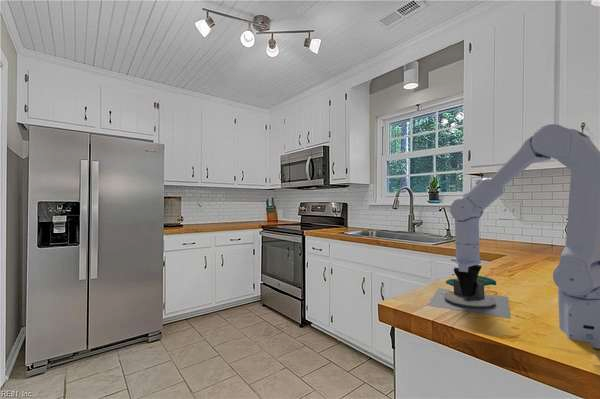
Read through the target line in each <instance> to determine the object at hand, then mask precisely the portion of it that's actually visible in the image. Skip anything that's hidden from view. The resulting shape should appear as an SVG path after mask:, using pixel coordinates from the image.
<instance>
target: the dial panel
mask: <svg viewBox="0 0 600 399" xmlns="http://www.w3.org/2000/svg"><path fill="white" fill-rule="evenodd" d="M449 290H450V289H447V288H439V287H438V288H437V289H436V291H435V292H434V294H433V296H432V297H431V299H430V300H429V301H428V303H427V306H428V307H434V308H435V307H436V308H441V309H446V310H447V309H448V310H453V311H454V310H455V311H460V312H467V313H473V314H479V315H485V316H492V317H498V318H503V319H510V320H511V319H512V318H511V310H510V301H509V296H503V295H497V294H495V295H494V294H487V293H486V294H487V295H490V296H492V297H493V298H494V299H495V305H494V306H492V307H488V308H472V307H465V306H460V305H456V304H453V303H450V302H448V301H447V300H445V298H444V293H445V292H447V291H449Z"/></svg>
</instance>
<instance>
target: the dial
mask: <svg viewBox="0 0 600 399" xmlns="http://www.w3.org/2000/svg"><path fill="white" fill-rule="evenodd" d="M453 279H454V286H453V289H449V291H447V292H445V293H444V298H445V300H447V301H448V302H450V303H453V304H456V305H460V306H465V307H472V308H488V307H492V306H494V305H495V299H494V298H493V297H492V296H490V295H491V294H489V295H487V293H485V285H484V284H482V283H478V282H474V287H473V293H472V296H471V297H470V296H463V295H462V292H461V288H460V284H459V280H458V278H453Z"/></svg>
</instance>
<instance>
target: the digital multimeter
mask: <svg viewBox="0 0 600 399" xmlns="http://www.w3.org/2000/svg"><path fill="white" fill-rule="evenodd" d="M454 279H455V278H451V279H450V278H449V279H447V280H445V283H446V284H448V285H451V286H452V287H454ZM476 282H478V283H482V284H484V286H488V285H491V286H497V281H496V280H495V279H493V278H490V277H485V276H481V275H478V277H477V281H476Z"/></svg>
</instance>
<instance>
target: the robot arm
mask: <svg viewBox="0 0 600 399" xmlns="http://www.w3.org/2000/svg"><path fill="white" fill-rule="evenodd" d="M551 159H554V160H557V162H559V163H561V165H563V166H565V167H566V168H568V169H569V170H570V182H569V195H568V206H567V207H568V209H567V220H566V236H565V245H564V246H565V247H564V248H563V250H562V252H561V255H559V256H560V257H559V263H558V265H557V266H556V267H555V268H554V271H553V273H552V279H553V282H554V283H555V285H556V287H557V292H558V295H557V296H558V297H557V298H558V301H557V302H558V326H559V327H558V328H559V330H560V331H562V332H563V333H564V334H565V335H566V337H567V339H569V340H574V341H580V342H584V343H585V342H586V343H589V344H590V345H591V347H592V348H593V349H598V350H600V150H599V149H598V148H597V147H596V145H595V143H594V142H593V141H592V140H591V137H590V136H589V135H587V134H586V133H583V132H582V131H579V130H578V129H575V128H568V127H564V126H562V125H560V124H556V123H555V124H554V123H553V124H551V123H550V124H546V125H544V126H542V127H540V128H538V129H537V130H536V131H535V132H534V134H533V136H532V135H531V136H529V137H528V138H526V140H525V141H524V142H523V144H522V145H521V146H520V147H519V149H518V150H517V151H515V153H513V155H512V156H511V157H510V158H508V160H507V161H506V162H505V163H504V164H503V165H502V166H501V167H500V168H499V169H498V170H497V171H496V172H495V173H494V175H492V176H491V177H484V178H482V179H478V180H477V181H476V182H475V185H474V187H473V188H471V189H470V190H469V191H468V192H467V193H464V194H463V195H462V198H457V199H455V200H453V202H452V204H451V205H450V208H449V212H450V214H451V217H452V218H453V219H454V234H455V235H454V238H455V240H454V241H455V245H454V246H455V257H451V258H450V261H451V262H455V263H456V264H457V267H454V268H453V272H454V274H455V276H456V277H457V278H456V279H458V280H459V284H460V288H461V292H462V295H463V296H470V297H471V296H472V293H473V287H474V282H476V281H477V277H478V276H479V273H480V271H481V269H482V265H481V263H482V260H481V257H480V255H481V254H480V252H481V251H480V225H479V224H480V219H481V217H482V216H483V214H484V211H485V209H486V208H488V207H489V206H490V205H491V204H493V202H495V201H496V200H497V199H498V198H500V197H501V196H502V195H503V194H504V186H506V185H507V184H508V183H509V182H511V181H512V180H513V179H514V178H516V177H517V176H518V175H519V174H521V173H522V172H523V171H525V170H526V169H527V168H528V167H530V166H531V165H532V164H534V163H540V162H544V161H549V160H551Z"/></svg>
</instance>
